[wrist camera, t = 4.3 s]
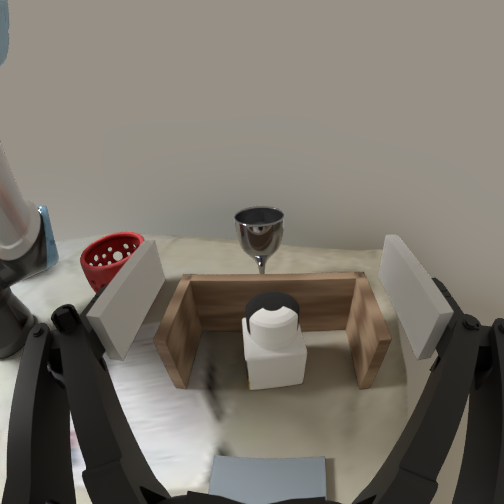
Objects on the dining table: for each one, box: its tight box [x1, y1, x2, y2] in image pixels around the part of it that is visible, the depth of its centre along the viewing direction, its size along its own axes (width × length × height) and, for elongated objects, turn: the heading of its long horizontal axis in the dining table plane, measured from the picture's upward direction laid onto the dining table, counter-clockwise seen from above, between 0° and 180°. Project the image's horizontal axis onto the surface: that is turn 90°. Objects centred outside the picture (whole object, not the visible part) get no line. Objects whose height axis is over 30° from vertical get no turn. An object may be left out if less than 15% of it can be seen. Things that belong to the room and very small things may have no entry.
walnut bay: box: [153, 272, 392, 389], centre depth 34 cm, size 13×26×10 cm, turn 86°
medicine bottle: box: [242, 291, 307, 390], centre depth 32 cm, size 7×7×12 cm
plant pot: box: [80, 232, 144, 293], centre depth 47 cm, size 13×13×12 cm
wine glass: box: [235, 206, 284, 274], centre depth 47 cm, size 8×8×15 cm
